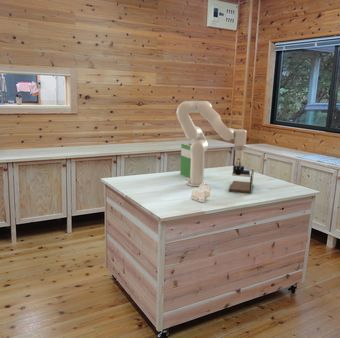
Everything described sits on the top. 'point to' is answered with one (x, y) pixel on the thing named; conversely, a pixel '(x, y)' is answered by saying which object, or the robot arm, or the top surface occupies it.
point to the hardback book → (185, 160)
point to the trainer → (241, 172)
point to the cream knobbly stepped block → (199, 195)
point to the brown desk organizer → (242, 185)
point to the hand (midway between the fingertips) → (238, 173)
